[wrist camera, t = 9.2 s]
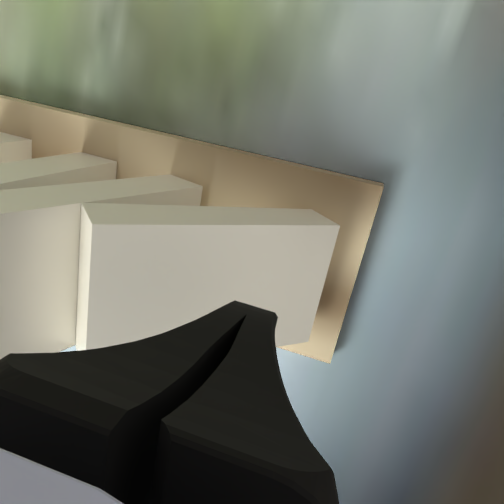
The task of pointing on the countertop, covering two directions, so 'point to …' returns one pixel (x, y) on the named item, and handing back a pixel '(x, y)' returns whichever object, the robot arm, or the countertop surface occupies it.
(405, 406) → the countertop surface
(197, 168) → the oak strip
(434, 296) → the countertop surface
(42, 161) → the domino
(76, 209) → the domino
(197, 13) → the countertop surface
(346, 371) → the countertop surface
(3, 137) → the domino
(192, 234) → the domino
